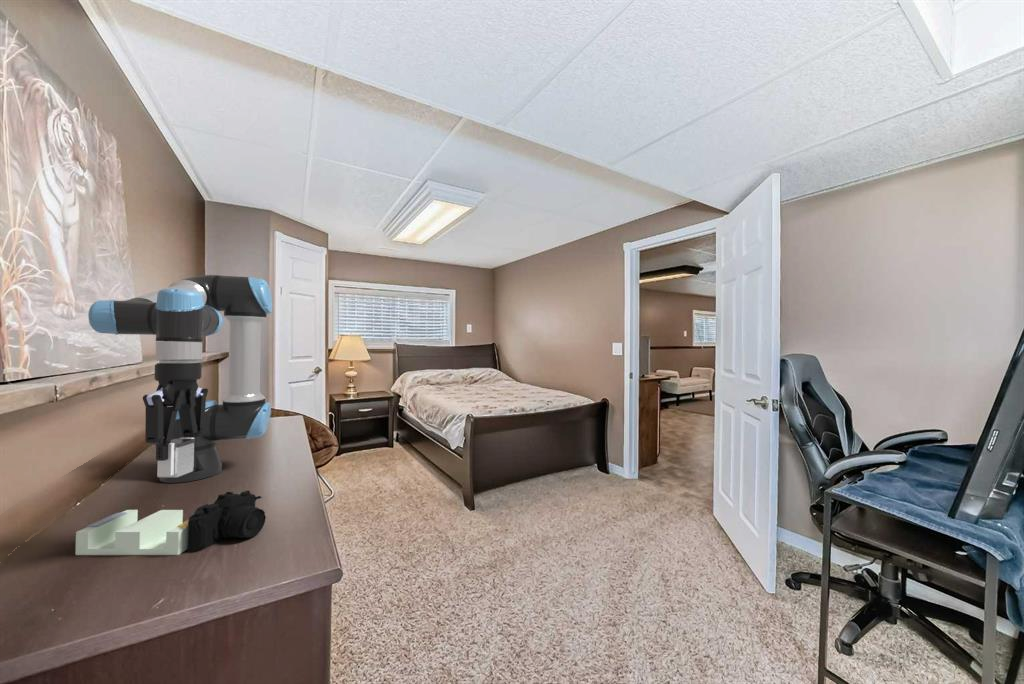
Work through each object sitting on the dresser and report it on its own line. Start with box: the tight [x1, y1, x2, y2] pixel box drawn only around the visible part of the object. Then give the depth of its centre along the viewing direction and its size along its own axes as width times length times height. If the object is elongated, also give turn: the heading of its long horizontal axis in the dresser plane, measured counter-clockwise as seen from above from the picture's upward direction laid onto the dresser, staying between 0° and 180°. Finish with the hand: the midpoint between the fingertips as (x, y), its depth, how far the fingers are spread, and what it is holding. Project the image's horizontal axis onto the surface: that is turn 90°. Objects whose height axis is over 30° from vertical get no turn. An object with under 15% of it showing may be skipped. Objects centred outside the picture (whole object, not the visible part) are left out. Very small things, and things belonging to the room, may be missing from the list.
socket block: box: [75, 509, 189, 556], centre depth 79 cm, size 10×20×5 cm, turn 91°
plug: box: [157, 439, 195, 478], centre depth 79 cm, size 4×4×7 cm
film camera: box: [187, 490, 266, 553], centre depth 82 cm, size 15×10×9 cm, turn 167°
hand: (176, 470), depth 79 cm, fingers closed on plug, 4 cm apart
